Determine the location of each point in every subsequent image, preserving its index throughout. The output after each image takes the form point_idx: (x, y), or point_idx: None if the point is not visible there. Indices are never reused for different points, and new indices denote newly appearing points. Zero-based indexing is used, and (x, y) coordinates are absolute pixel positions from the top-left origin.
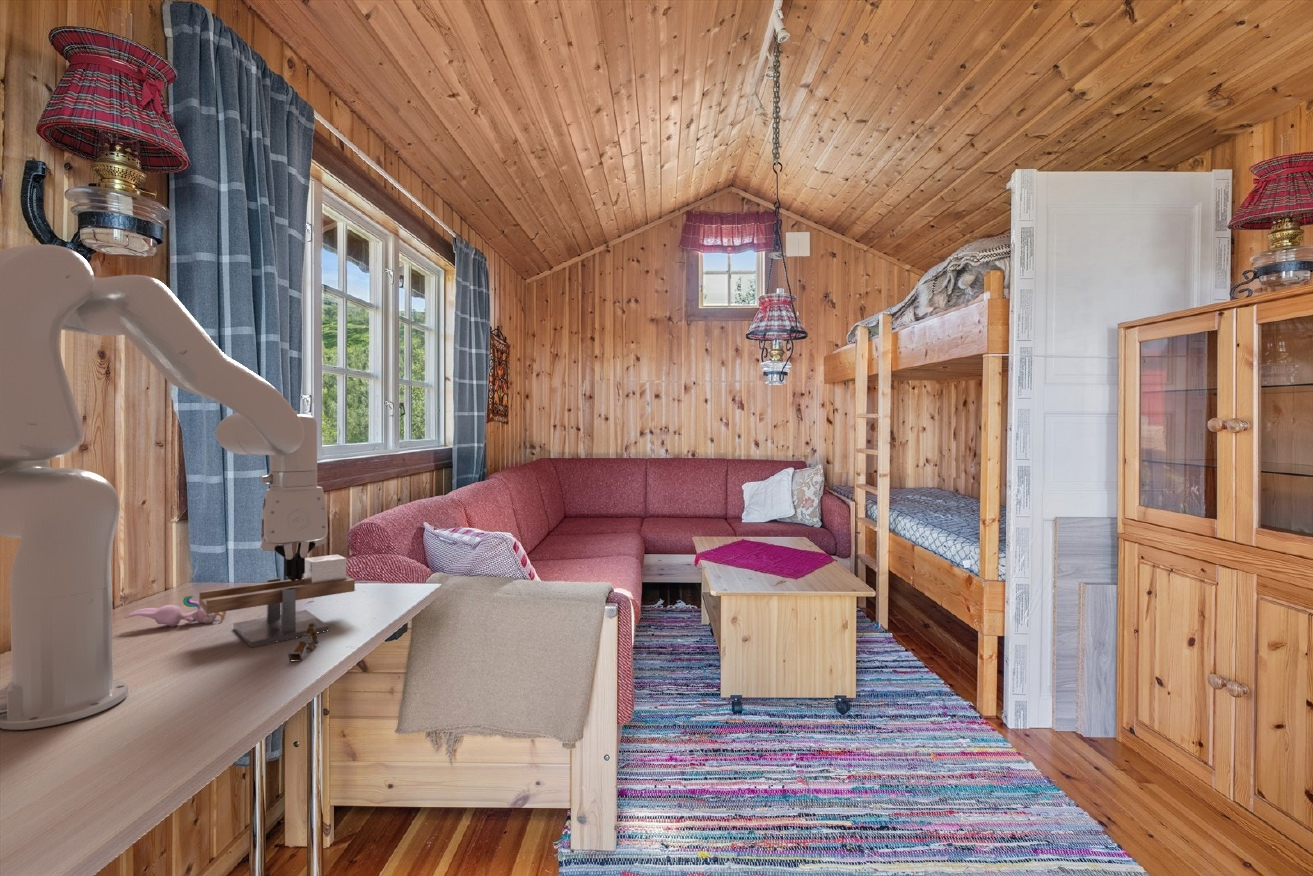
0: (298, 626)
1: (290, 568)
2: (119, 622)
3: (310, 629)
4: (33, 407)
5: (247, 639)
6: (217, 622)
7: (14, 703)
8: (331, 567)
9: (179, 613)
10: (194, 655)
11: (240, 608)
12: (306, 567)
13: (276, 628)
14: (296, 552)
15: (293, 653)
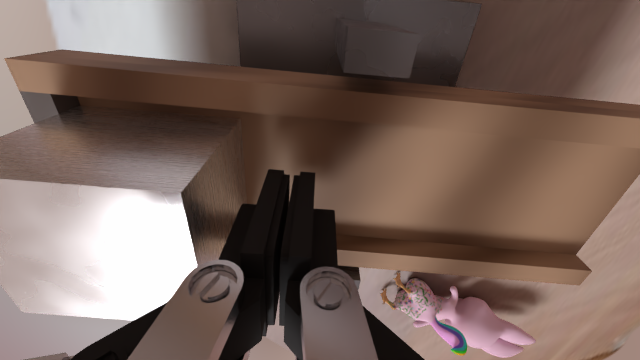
0: (313, 64)
1: (315, 231)
2: (487, 357)
3: None
4: None
5: (462, 58)
6: (403, 274)
7: None
8: (78, 153)
9: (463, 317)
10: (578, 69)
11: (538, 96)
12: (219, 251)
13: None
14: (249, 349)
15: None
